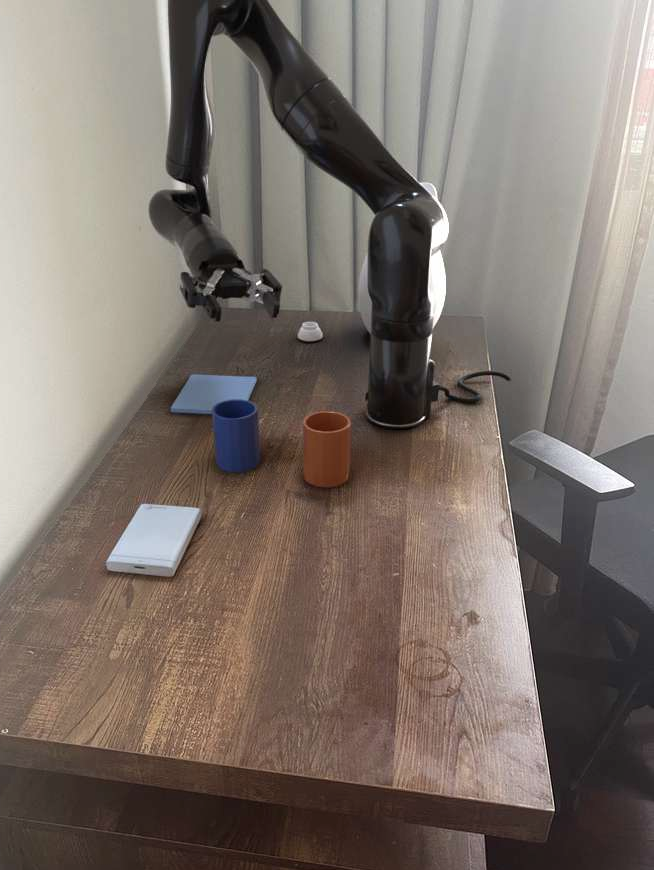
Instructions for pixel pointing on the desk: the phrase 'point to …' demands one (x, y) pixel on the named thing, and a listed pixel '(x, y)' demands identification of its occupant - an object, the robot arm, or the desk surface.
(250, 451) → the blue cup
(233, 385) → the blue mat
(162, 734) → the desk surface
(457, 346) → the desk surface
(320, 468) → the terracotta cup
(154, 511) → the hard drive
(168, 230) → the robot arm
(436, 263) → the pitcher
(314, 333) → the white jar
